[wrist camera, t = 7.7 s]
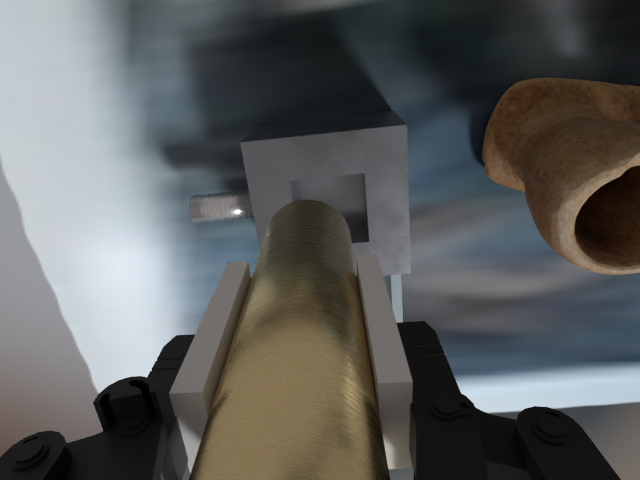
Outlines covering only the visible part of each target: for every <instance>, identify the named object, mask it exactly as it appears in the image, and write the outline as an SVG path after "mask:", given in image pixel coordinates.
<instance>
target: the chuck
mask: <svg viewBox="0 0 640 480" xmlns="http://www.w3.org/2000/svg"><path fill="white" fill-rule="evenodd" d="M240 145H241V151H242V156H243V161H244V167H245V172H246V178H247V183H248V188H249V190H242V191H232V192H222V193H212V194H202V195H192V196H191V197H190V199H189V211H190V216H191V218H192V220H193V222H194V223H199V222H210V221H220V220H231V219H241V218H252V217H254V221H255V226H256V232H257V237H258V243H259V248H260V250H261V246H262V243H263V240H264V237H265V234H266V230H267V227H268V225H269V222H270V220H271V219H272V217H273V216H274V215H275V213H276V212H277V211H278V210H280V209H281V208H282V207H284V206H285V205H287V204H289V203H292V202H294V201H298V200H317V201H321V202H324V203H326V204H328V205H330V206H332V207H333V208H335V209H336V210H337V211H338V212H339V213H340V214H341V215H342V216H343V217H344V219H345V220H346V222H347V224H348V227H349V230H350V235H351V241H352V248H353V254H354V260H355V266H356V272H357V263H356V255H365V254H377V255H378V259H379V262H380V266H381V269H382V273H383V276H388V275H400V274H411V262H410V222H409V182H408V142H407V124H406V123H405V122H404V121H403V120H402V119H401V118H400V117H399V116H398V115H397V114H396V113H395V112H394V111H393V110H386V111H377V112H368V113H359V114H349V115H340V116H331V117H322V118H313V119H304V120H295V121H286V122H276V123H267V124H258V125H256V126H255V127H254V128H253V129H252V131H251V132H250V133H249V134H248V135H247V136H246V137H245V138H244V139H243V140H242V141H241V142H240Z"/></svg>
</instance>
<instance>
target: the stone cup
mask: <svg viewBox="0 0 640 480" xmlns="http://www.w3.org/2000/svg"><path fill="white" fill-rule="evenodd" d="M482 158H483V161H484V163H485V172H486V174H487V176H488V177H489V178H490V179H492V180H493V181H495V182H497V183H499V184H501V185H504V186H507V187H510V188H514V189H517V190H520V191H524V192H525V195H526V200H527V203H528V206H529V209H530V212H531V215H532V217H533V220H534V222H535V224H536V227H537V229H538V231H539V233H540V235H541V236H542V237H543V239H544V240H545V241H546V243H547V244H548V245H549V246H550V247H551V248H552V249H553V250H554V251H556V252H557V253H558V254H559V255H560V256H561V257H563V258H564V259H566V260H567V261H569V262H570V263H572V264H574V265H576V266H578V267H580V268H583V269H586V270H588V271H593V272H597V273H603V274H630V273H638V272H640V86H633V85H618V84H613V83H607V82H599V81H588V80H579V79H565V78H549V77H548V78H534V79H527V80H523V81H519V82H517V83H515V84H514V85H512V86H511V87H510V88H509V89H508V90H506V92H505V93H504V94H503V96H502V97H501V98H500V100H499V102H498V103H497V105H496V107H495V109H494V111H493V113H492V115H491V117H490V119H489V122H488V125H487V128H486V133H485V137H484V142H483V148H482Z"/></svg>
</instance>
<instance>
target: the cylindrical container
mask: <svg viewBox="0 0 640 480" xmlns="http://www.w3.org/2000/svg"><path fill="white" fill-rule="evenodd" d="M189 480H390V477H389V470H388V464H387V458H386V452H385V446H384V439H383V433H382V427H381V421H380V416H379V412H378V406H377V399H376V393H375V387H374V381H373V374H372V368H371V362H370V355H369V349H368V343H367V337H366V330H365V324H364V318H363V312H362V305H361V299H360V293H359V287H358V280H357V272H356V266H355V260H354V254H353V248H352V241H351V235H350V230H349V227H348V224H347V222H346V220H345V219H344V217H343V216H342V215H341V214H340V213H339V212H338V211H337V210H336V209H335V208H333V207H332V206H330V205H328V204H326V203H324V202H321V201H317V200H298V201H294V202H292V203H289V204H287V205H285V206H284V207H282V208H281V209H280V210H278V211H277V212H276V213H275V215H274V216H273V217H272V219H271V220H270V222H269V225H268V227H267V230H266V234H265V237H264V240H263V243H262V246H261V250H260V253H259V256H258V259H257V262H256V266H255V269H254V272H253V275H252V278H251V282H250V285H249V288H248V291H247V295H246V298H245V301H244V304H243V307H242V311H241V314H240V317H239V320H238V323H237V327H236V330H235V333H234V336H233V339H232V343H231V346H230V349H229V352H228V356H227V359H226V362H225V365H224V368H223V372H222V375H221V378H220V381H219V384H218V388H217V391H216V394H215V397H214V400H213V404H212V407H211V410H210V413H209V417H208V420H207V423H206V426H205V429H204V433H203V436H202V439H201V442H200V445H199V449H198V452H197V455H196V458H195V461H194V465H193V468H192V471H191V474H190V478H189Z"/></svg>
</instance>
